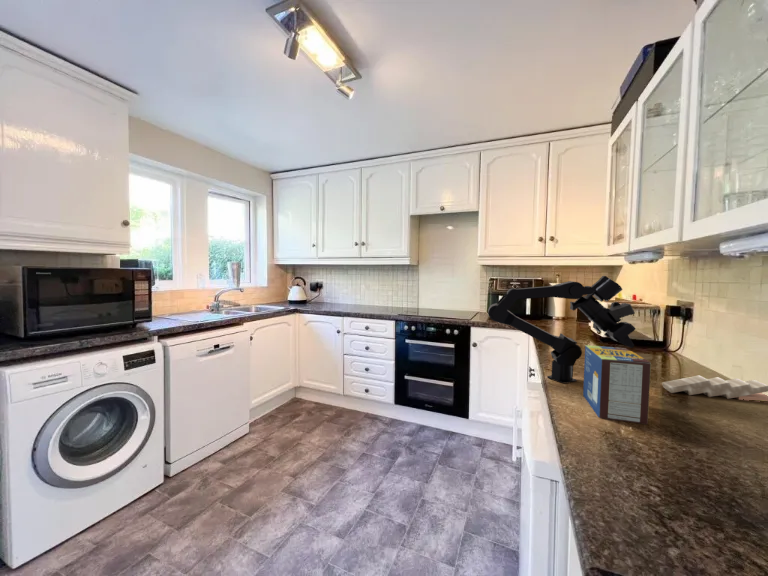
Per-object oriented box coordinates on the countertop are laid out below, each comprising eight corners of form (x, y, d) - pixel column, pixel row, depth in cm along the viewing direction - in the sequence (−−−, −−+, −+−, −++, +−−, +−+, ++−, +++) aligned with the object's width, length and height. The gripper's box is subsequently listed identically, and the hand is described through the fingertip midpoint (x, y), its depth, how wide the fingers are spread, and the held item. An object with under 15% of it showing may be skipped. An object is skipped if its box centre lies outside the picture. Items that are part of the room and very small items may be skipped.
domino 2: (687, 390, 95) (729, 382, 92) (678, 384, 100) (717, 377, 97) (689, 395, 95) (731, 387, 92) (680, 389, 100) (720, 382, 97)
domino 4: (725, 393, 93) (768, 385, 90) (713, 387, 98) (754, 379, 95) (727, 398, 93) (770, 390, 90) (715, 392, 98) (756, 384, 94)
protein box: (623, 400, 91) (626, 347, 90) (648, 425, 76) (652, 362, 76) (582, 395, 94) (584, 344, 93) (598, 418, 80) (601, 358, 79)
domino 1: (669, 387, 97) (709, 380, 94) (661, 382, 102) (699, 375, 98) (671, 393, 97) (711, 385, 93) (663, 387, 102) (701, 380, 98)
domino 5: (739, 395, 92) (783, 399, 90) (725, 389, 97) (767, 393, 95) (738, 401, 92) (782, 405, 90) (725, 394, 97) (766, 398, 95)
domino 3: (707, 391, 94) (749, 384, 91) (697, 385, 99) (737, 378, 95) (709, 396, 94) (751, 389, 91) (699, 390, 99) (739, 383, 95)
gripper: (629, 296, 93) (672, 336, 90) (604, 292, 111) (640, 325, 108) (597, 321, 96) (638, 360, 93) (578, 313, 114) (612, 346, 111)
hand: (632, 346), depth 101 cm, fingers closed
